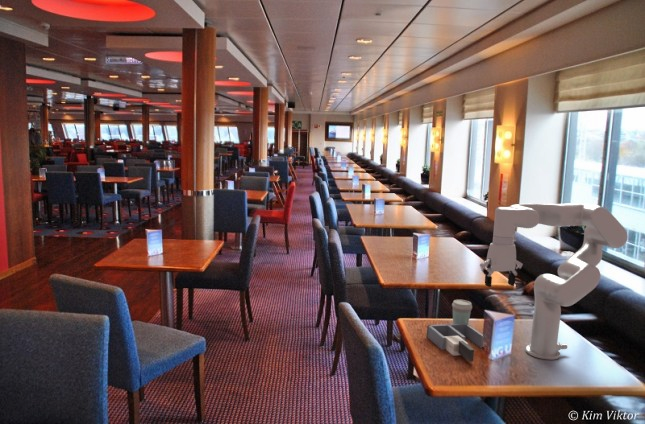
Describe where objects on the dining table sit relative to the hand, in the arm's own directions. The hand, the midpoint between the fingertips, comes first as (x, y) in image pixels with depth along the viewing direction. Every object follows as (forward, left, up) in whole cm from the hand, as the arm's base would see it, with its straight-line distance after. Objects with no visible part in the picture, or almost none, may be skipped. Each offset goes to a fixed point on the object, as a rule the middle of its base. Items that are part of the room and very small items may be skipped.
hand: (499, 285), depth 198 cm
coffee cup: (-2, -29, -28) cm, 41 cm away
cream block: (+12, -3, -28) cm, 30 cm away
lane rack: (+8, -15, -28) cm, 33 cm away
